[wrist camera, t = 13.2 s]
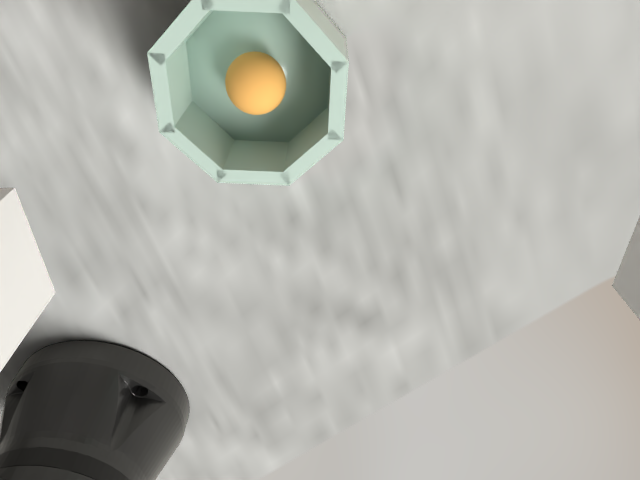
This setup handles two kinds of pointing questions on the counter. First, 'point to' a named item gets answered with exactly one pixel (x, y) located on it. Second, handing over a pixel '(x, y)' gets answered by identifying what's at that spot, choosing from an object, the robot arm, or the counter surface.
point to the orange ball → (255, 83)
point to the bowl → (218, 110)
